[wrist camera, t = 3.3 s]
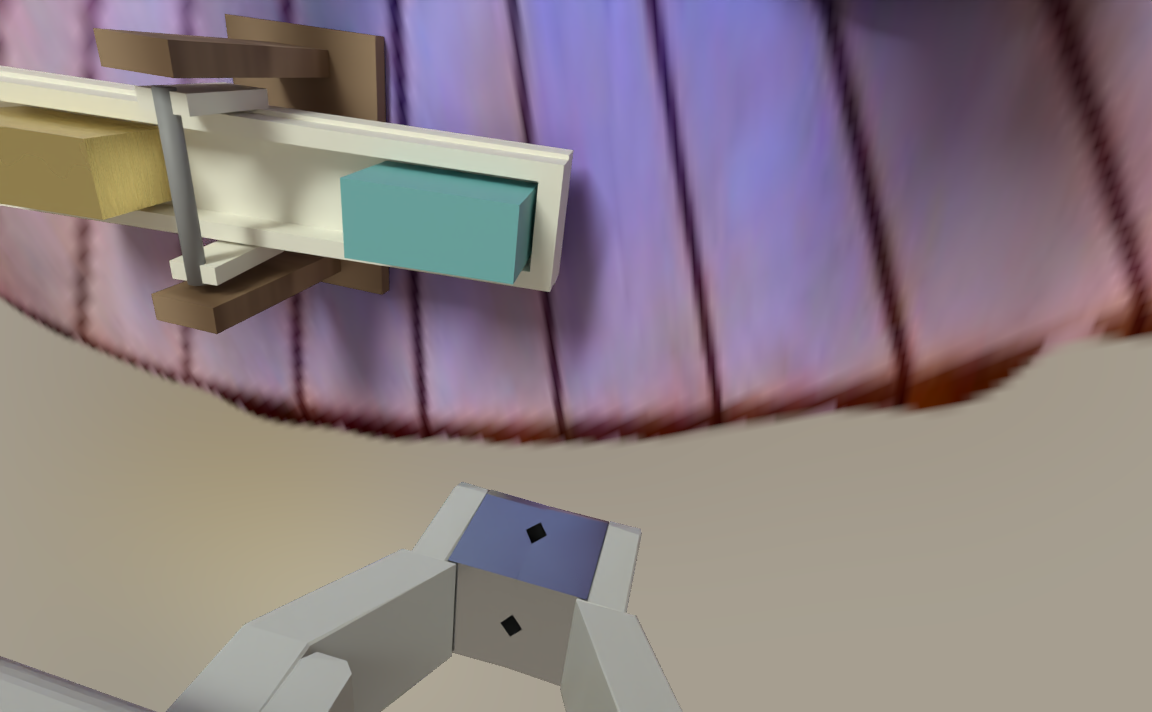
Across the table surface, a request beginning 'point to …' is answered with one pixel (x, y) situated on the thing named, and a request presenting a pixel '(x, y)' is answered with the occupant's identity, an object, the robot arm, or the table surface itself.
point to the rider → (438, 220)
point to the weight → (79, 163)
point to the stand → (293, 80)
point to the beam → (283, 170)
